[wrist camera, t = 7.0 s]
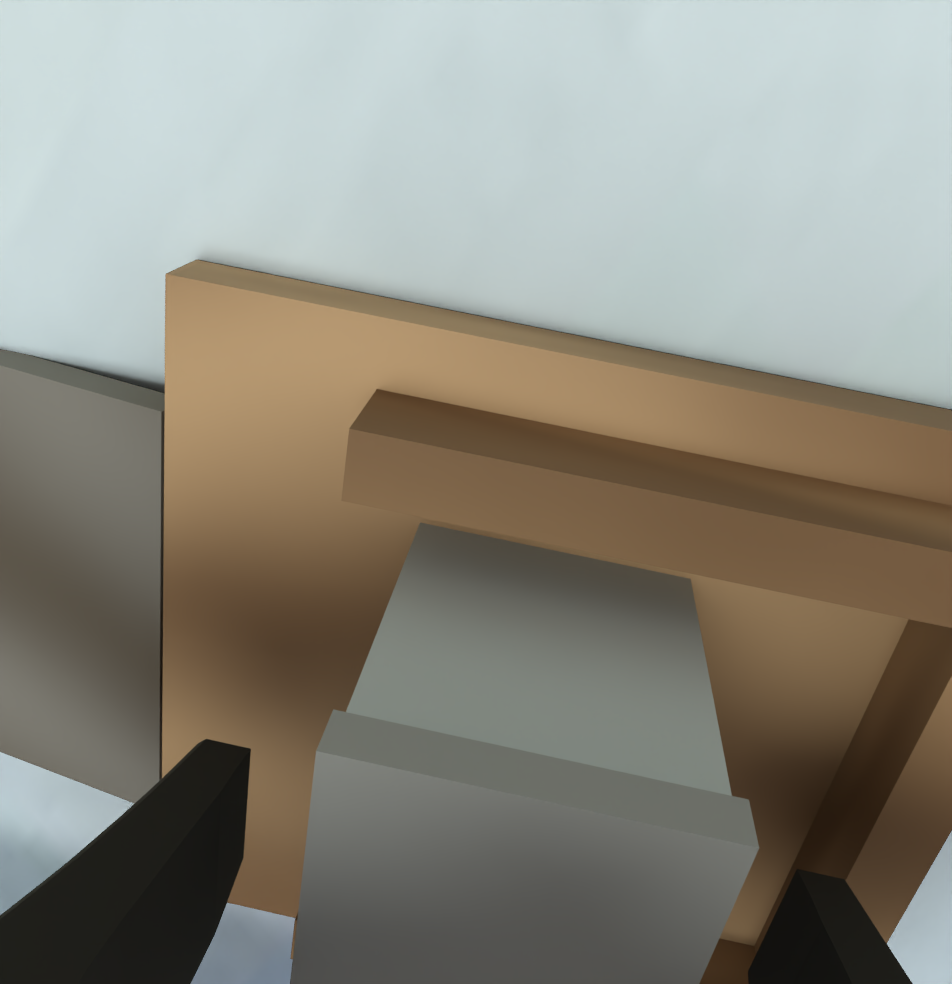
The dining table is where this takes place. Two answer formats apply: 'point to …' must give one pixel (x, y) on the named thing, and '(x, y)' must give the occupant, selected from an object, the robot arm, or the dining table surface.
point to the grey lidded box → (523, 782)
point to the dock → (484, 511)
